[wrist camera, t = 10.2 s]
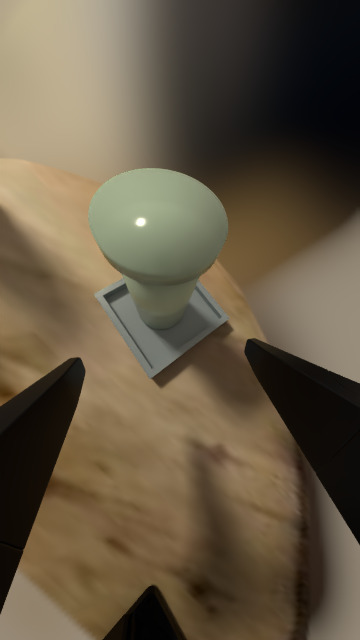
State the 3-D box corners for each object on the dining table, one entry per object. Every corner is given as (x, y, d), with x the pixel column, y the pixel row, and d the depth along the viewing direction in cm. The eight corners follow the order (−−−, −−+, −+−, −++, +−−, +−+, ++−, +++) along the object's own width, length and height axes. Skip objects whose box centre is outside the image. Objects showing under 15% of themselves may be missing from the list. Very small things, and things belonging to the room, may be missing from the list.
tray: (224, 321, 20) (229, 318, 19) (150, 378, 17) (150, 379, 16) (173, 258, 22) (174, 250, 21) (98, 299, 19) (93, 293, 18)
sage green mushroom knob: (199, 313, 19) (254, 235, 8) (153, 345, 18) (139, 302, 6) (168, 273, 21) (176, 155, 9) (122, 299, 19) (61, 192, 7)
